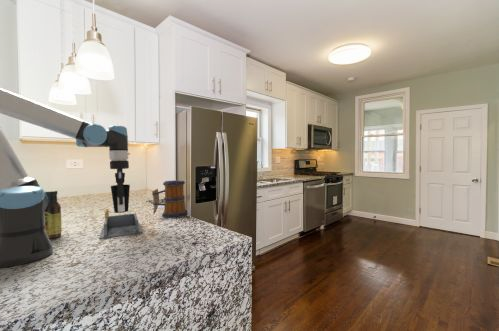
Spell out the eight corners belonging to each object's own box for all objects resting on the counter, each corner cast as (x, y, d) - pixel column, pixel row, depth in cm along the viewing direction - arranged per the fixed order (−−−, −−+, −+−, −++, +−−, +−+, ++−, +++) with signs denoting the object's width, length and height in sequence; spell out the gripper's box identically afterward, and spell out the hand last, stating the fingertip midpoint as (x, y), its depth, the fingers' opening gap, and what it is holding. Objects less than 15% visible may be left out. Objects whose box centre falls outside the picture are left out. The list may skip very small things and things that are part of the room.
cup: (115, 214, 104) (114, 186, 103) (109, 212, 109) (108, 185, 109) (133, 211, 109) (132, 185, 109) (127, 209, 115) (126, 184, 114)
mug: (155, 221, 126) (153, 183, 125) (150, 216, 138) (149, 181, 138) (191, 216, 136) (190, 181, 135) (184, 211, 148) (183, 179, 148)
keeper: (142, 232, 105) (141, 212, 105) (99, 239, 97) (98, 217, 97) (139, 223, 121) (138, 206, 121) (102, 228, 113) (101, 209, 113)
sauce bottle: (41, 237, 102) (40, 191, 102) (60, 233, 106) (58, 189, 106) (44, 240, 97) (42, 192, 97) (63, 236, 102) (61, 190, 102)
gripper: (129, 159, 101) (131, 213, 102) (127, 160, 119) (129, 205, 120) (108, 160, 98) (111, 215, 98) (110, 160, 116) (112, 207, 116)
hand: (121, 210), depth 109 cm, fingers closed on cup, 8 cm apart
